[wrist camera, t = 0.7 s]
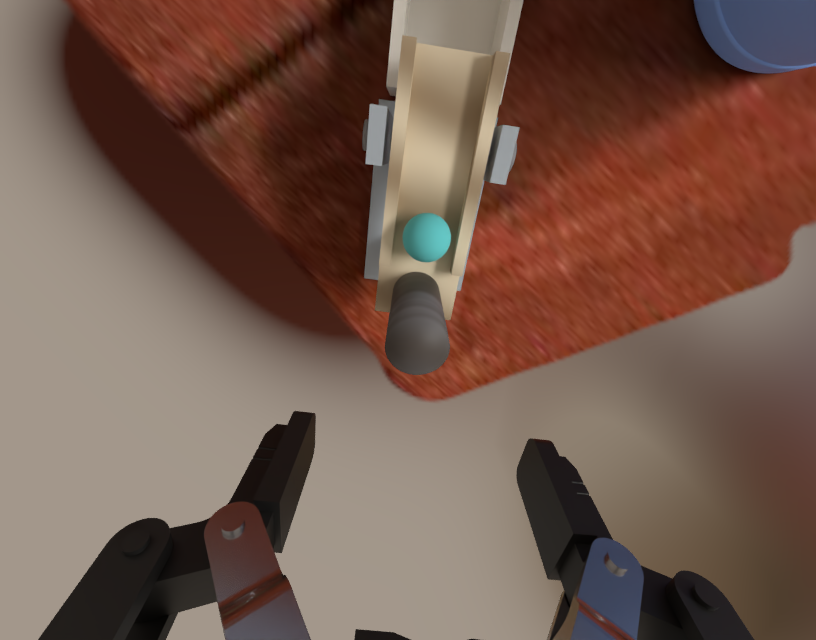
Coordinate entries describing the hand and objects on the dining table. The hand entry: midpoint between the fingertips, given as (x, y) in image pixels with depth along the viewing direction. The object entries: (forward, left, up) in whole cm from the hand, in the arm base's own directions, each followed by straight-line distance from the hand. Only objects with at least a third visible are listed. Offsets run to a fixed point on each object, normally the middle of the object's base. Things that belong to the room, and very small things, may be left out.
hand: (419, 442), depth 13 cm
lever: (-7, 0, -16) cm, 17 cm away
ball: (-5, 0, -13) cm, 14 cm away
